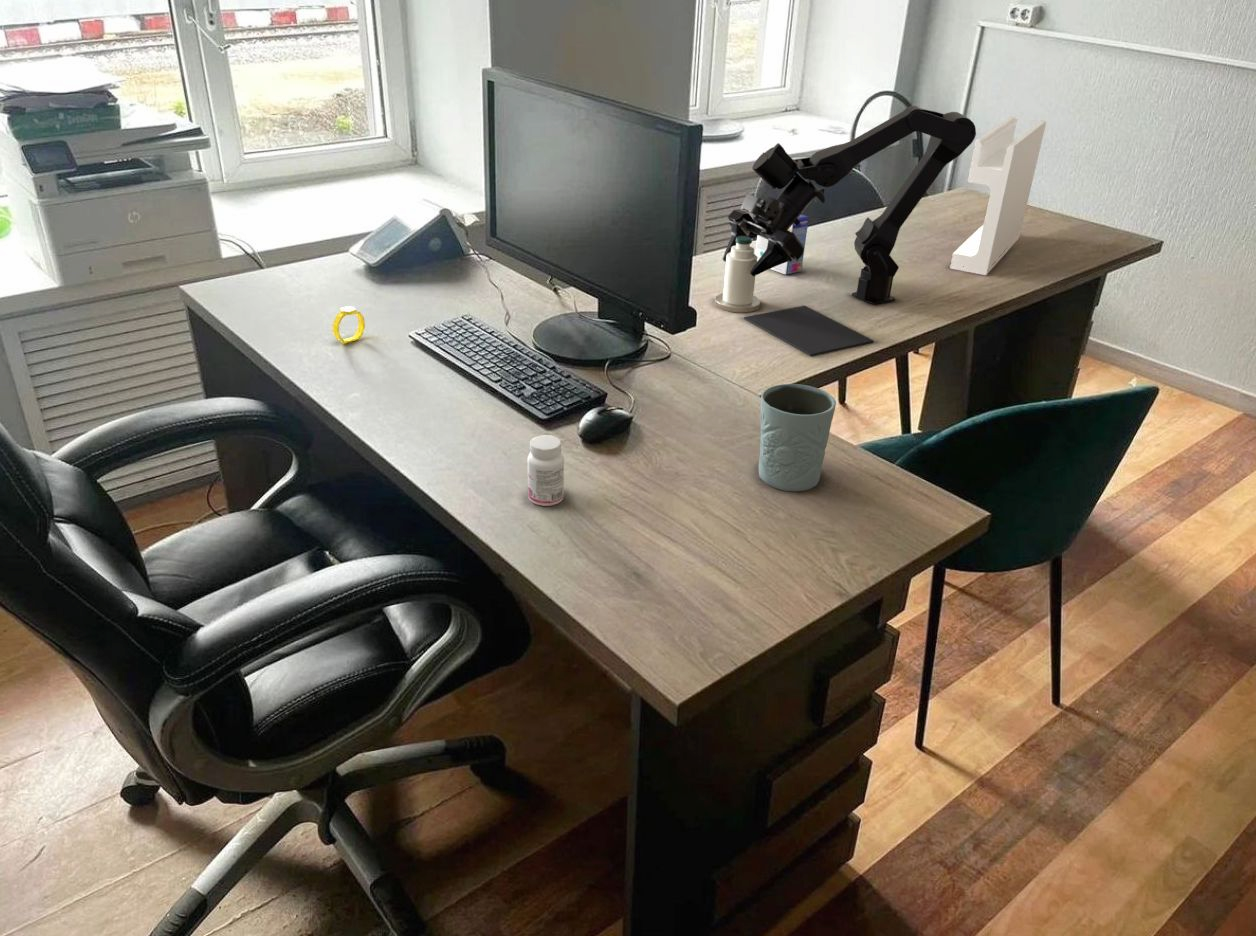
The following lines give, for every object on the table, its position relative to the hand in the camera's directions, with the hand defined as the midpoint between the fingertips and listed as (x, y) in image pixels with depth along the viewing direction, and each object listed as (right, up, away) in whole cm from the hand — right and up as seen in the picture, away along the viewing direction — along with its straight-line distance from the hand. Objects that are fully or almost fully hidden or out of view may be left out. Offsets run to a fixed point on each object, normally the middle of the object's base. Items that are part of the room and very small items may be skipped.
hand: (737, 267), depth 197 cm
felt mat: (+12, -13, -7) cm, 19 cm away
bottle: (0, -6, +4) cm, 7 cm away
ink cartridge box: (+12, +5, +25) cm, 28 cm away
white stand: (+63, +12, +41) cm, 77 cm away
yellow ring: (-70, -17, -19) cm, 75 cm away
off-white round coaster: (0, -7, +4) cm, 8 cm away
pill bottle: (-32, -43, -63) cm, 83 cm away
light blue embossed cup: (+1, -40, -55) cm, 68 cm away
